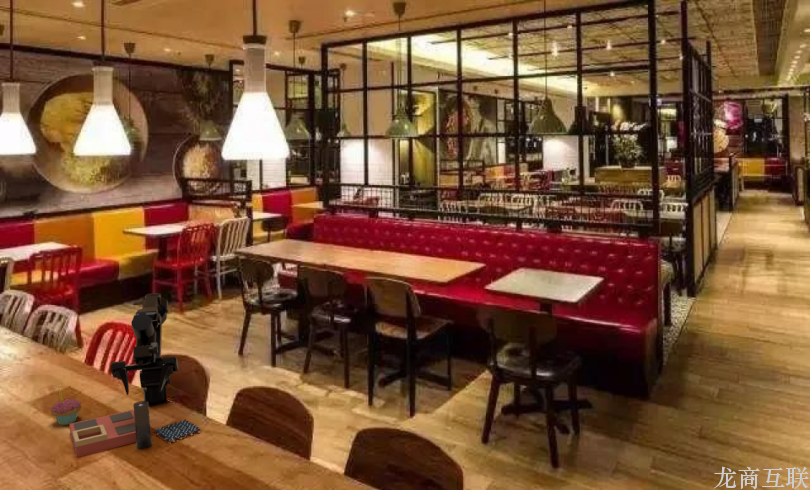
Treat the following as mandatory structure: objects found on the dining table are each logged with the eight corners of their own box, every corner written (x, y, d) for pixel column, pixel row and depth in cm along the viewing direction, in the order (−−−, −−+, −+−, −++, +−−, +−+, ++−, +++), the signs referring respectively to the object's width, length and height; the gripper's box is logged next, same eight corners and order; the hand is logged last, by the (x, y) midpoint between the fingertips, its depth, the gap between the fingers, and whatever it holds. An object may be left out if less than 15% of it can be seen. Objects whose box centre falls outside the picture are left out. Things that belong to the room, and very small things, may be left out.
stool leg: (150, 441, 180) (146, 399, 178) (153, 446, 176) (149, 404, 174) (135, 445, 177) (132, 402, 176) (138, 450, 174) (134, 407, 172)
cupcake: (68, 428, 189) (65, 391, 187) (45, 426, 191) (41, 390, 189) (88, 417, 197) (85, 381, 196) (65, 415, 199) (62, 380, 197)
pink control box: (133, 418, 196) (132, 405, 195) (145, 439, 181) (144, 425, 180) (70, 433, 186) (69, 419, 185) (77, 456, 171) (75, 441, 170)
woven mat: (152, 435, 185) (152, 429, 184) (185, 424, 192) (185, 418, 192) (168, 446, 178) (168, 439, 177) (202, 434, 185) (201, 427, 185)
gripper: (108, 336, 182) (104, 384, 173) (174, 330, 188) (174, 377, 179) (115, 353, 191) (111, 400, 182) (178, 347, 196) (178, 393, 187)
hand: (143, 392), depth 182 cm, fingers open, 9 cm apart
